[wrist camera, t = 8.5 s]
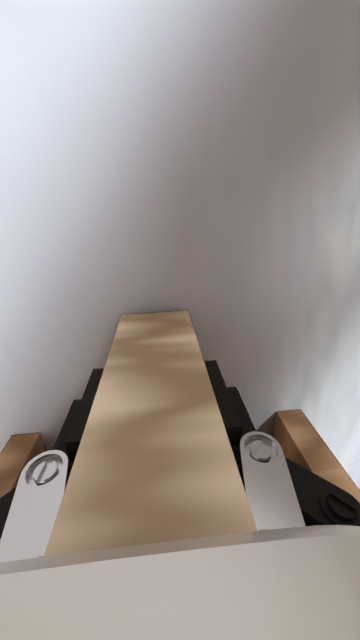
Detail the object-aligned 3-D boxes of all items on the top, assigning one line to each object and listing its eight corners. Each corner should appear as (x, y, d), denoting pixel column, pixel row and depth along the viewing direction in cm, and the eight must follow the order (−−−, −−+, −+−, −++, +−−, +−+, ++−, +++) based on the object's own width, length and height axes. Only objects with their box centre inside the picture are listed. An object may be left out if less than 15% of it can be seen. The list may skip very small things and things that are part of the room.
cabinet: (308, 402, 20) (487, 629, 9) (286, 498, 25) (388, 722, 14) (2, 429, 18) (-216, 743, 8) (42, 526, 23) (-56, 803, 12)
